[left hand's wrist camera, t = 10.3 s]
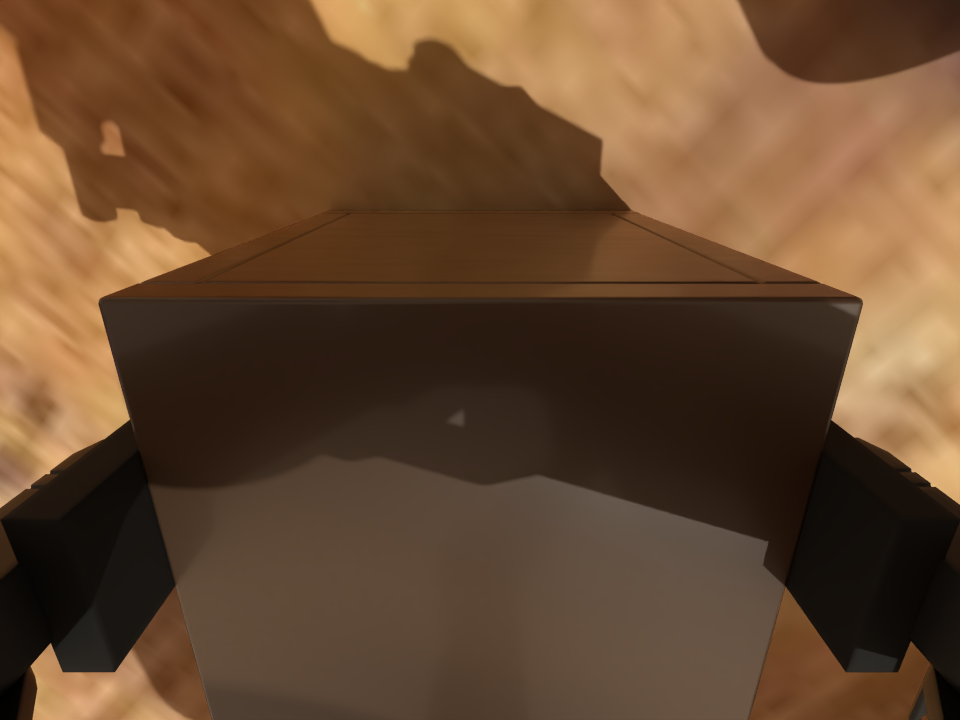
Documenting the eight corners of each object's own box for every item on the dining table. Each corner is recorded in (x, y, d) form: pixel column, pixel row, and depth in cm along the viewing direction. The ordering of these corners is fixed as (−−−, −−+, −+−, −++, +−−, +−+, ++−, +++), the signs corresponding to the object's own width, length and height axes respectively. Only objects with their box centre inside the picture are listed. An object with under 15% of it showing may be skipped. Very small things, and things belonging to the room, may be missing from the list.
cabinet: (587, 658, 26) (665, 1030, 15) (373, 658, 26) (294, 1029, 15) (633, 210, 18) (868, 298, 7) (328, 210, 18) (93, 297, 7)
